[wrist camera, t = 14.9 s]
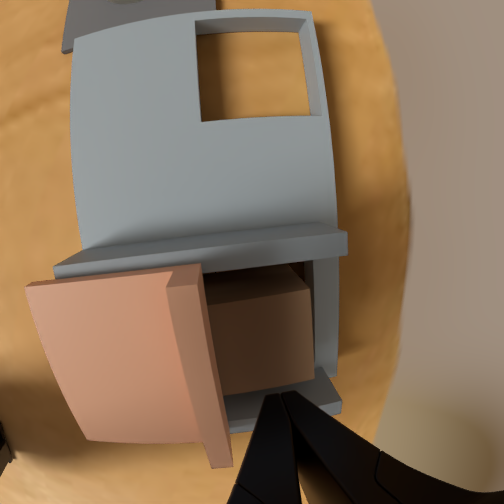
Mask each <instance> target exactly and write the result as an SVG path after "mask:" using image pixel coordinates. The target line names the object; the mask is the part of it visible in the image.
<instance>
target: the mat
mask: <svg viewBox="0 0 504 504" xmlns="http://www.w3.org/2000/svg"><path fill="white" fill-rule="evenodd" d="M214 10H216V1H215V0H143V1H140V2H136V3H131V4H115V3H112V2H109V1H108V0H69V5H68V10H67V16H66V22H65V28H64V35H63V42H62V50H61V52H62V53H63V54H67V53H70V52H73V48H74V39H75V38H78V37H81V36H84V35H88V34H91V33H94V32H98V31H101V30H105V29H108V28H112V27H116V26H120V25H124V24H128V23H132V22H137V21H142V20H147V19H152V18H158V17H163V16H170V15H177V14H184V13H192V12H202V11H214Z"/></svg>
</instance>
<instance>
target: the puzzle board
mask: <svg viewBox="0 0 504 504" xmlns="http://www.w3.org/2000/svg"><path fill="white" fill-rule="evenodd" d="M251 31H276V32H299V38H300V44H301V50H302V56H303V63H304V69H305V76H306V83H307V91H308V98H309V106H310V114H311V116H278V117H256V118H240V119H228V120H217V121H207V122H202V118H201V105H200V91H199V77H198V60H197V42H196V35H201V34H212V33H226V32H251ZM70 137H71V158H72V172H73V184H74V193H75V202H76V210H77V217H78V224H79V231H80V237H81V243H82V249H83V250H82V251H80V252H78V253H76V254H75V255H73V256H71V257H69V258H67V259H66V260H64V261H62V262H60V263H58V264H57V265H55V266H53V270H54V275H55V279H64V278H73V277H82V276H91V275H100V274H109V273H118V272H127V271H136V270H145V269H153V268H162V267H171V266H180V265H188V264H197V263H201V268H202V273H210V272H218V271H227V270H235V269H244V268H252V267H260V266H268V265H276V264H284V263H292V262H300V261H304V275H305V284H306V285H307V286H308V287H309V288H310V296H311V311H312V329H313V349H314V375H315V379H311V380H307V381H303V382H298V383H293V384H289V385H284V386H279V387H274V388H268V389H263V390H257V391H252V392H245V393H239V394H232V395H225V396H223V400H224V405H225V410H226V415H227V420H228V424H229V429H230V434H232V433H241V432H248V431H253V430H254V427H255V424H256V421H257V418H258V415H259V411H260V408H261V405H262V402H263V399H264V396H265V395H267V394H273V393H280V394H281V393H282V392H285V391H290V390H296V391H298V392H299V393H300V394H301V395H303V396H304V397H305V398H307V399H308V400H310V401H311V402H312V403H314V404H315V405H316V406H318V407H319V408H320V409H322V410H323V411H325V412H326V413H327V414H329V415H330V416H332V415H336V414H340V413H341V408H342V399H341V398H340V396H339V394H338V393H337V391H336V389H335V387H334V386H333V384H332V382H331V381H330V379H329V378H330V377H335V376H337V360H338V335H339V256H346V255H348V233H347V232H346V231H343V230H341V229H338V219H337V201H336V186H335V173H334V161H333V150H332V140H331V131H330V122H329V114H328V106H327V99H326V91H325V85H324V78H323V72H322V65H321V59H320V54H319V48H318V42H317V37H316V32H315V27H314V22H313V17H312V12H311V11H300V10H283V9H230V10H214V11H202V12H192V13H184V14H177V15H170V16H163V17H158V18H152V19H147V20H142V21H137V22H132V23H128V24H124V25H120V26H116V27H112V28H108V29H105V30H101V31H98V32H94V33H91V34H88V35H84V36H81V37H78V38H75V39H74V48H73V58H72V72H71V92H70Z"/></svg>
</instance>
